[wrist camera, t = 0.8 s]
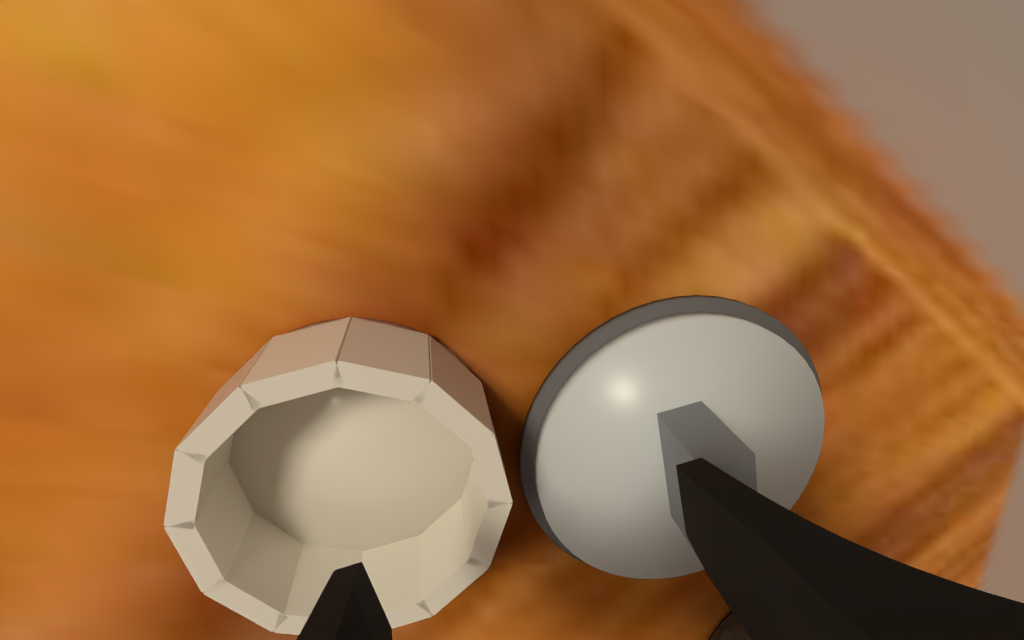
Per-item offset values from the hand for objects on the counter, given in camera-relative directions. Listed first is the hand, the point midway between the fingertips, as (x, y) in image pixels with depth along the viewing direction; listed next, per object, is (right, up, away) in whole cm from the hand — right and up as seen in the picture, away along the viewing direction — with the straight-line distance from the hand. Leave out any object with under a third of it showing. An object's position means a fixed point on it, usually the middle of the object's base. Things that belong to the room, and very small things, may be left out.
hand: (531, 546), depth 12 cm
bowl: (-6, 0, +8) cm, 10 cm away
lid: (+6, 0, +10) cm, 12 cm away
